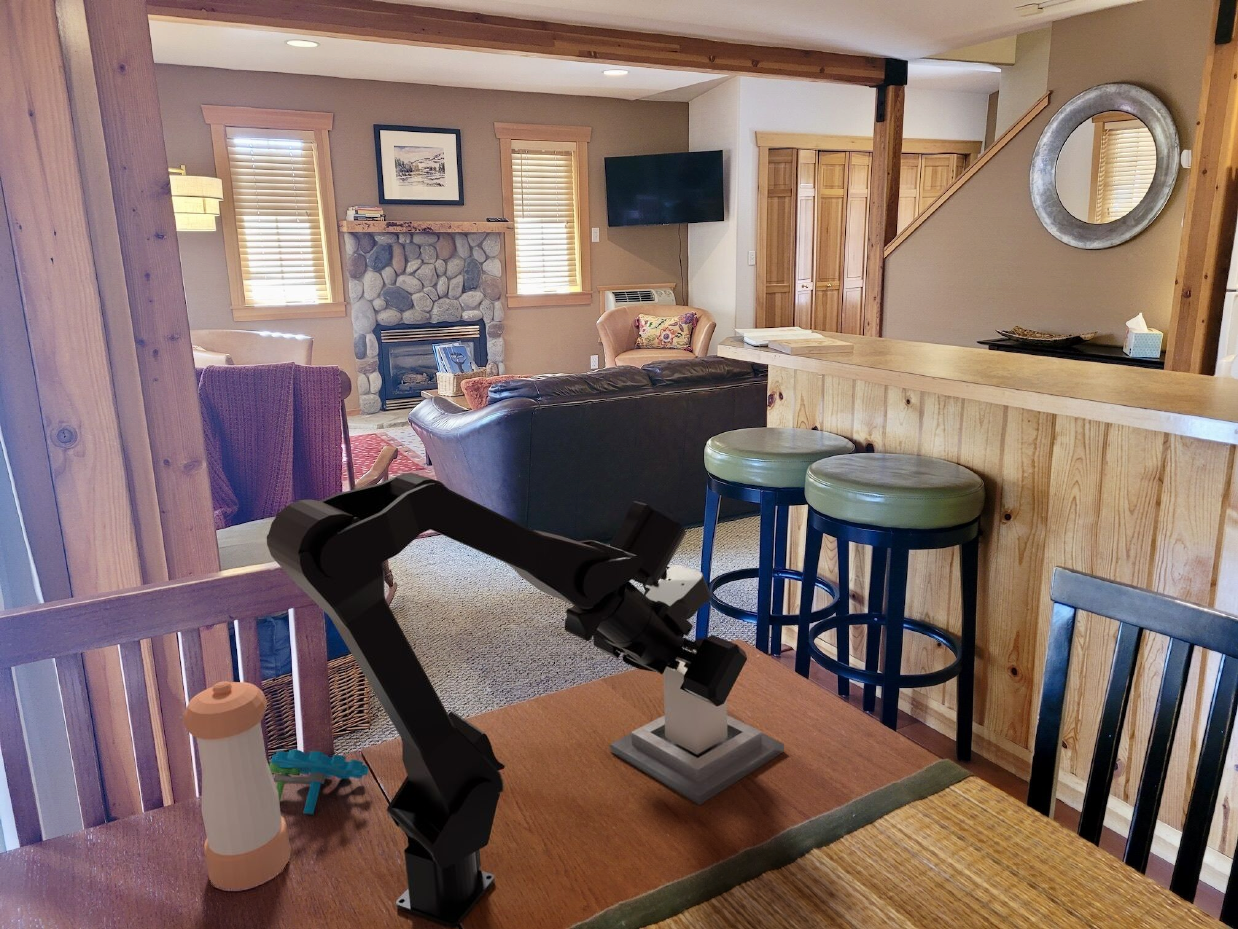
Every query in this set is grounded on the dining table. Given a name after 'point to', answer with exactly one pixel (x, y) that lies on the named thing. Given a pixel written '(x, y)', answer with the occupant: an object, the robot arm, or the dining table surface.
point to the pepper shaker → (237, 786)
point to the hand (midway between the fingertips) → (703, 680)
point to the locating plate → (697, 758)
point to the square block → (691, 715)
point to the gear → (312, 771)
